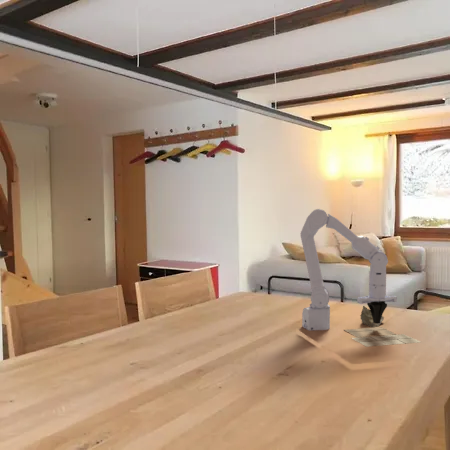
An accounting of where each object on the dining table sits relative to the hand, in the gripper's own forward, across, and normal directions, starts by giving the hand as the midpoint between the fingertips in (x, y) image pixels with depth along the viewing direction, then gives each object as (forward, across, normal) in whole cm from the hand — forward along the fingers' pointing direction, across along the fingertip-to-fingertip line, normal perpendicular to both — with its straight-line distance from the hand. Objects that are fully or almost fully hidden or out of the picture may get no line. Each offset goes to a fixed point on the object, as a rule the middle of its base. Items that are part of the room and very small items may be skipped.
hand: (376, 322), depth 174 cm
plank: (+4, -4, -2) cm, 6 cm away
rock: (+4, +4, +9) cm, 11 cm away
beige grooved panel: (+4, -4, -12) cm, 13 cm away
